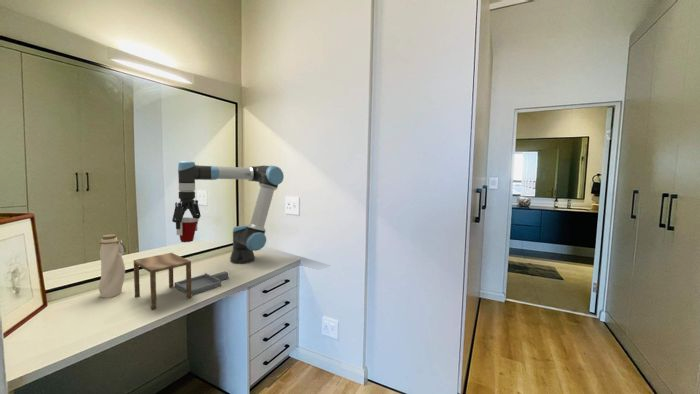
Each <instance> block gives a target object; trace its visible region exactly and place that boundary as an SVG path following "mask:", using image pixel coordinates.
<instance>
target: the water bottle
mask: <svg viewBox="0 0 700 394" xmlns="http://www.w3.org/2000/svg"><path fill="white" fill-rule="evenodd" d="M98 244H99V245H101V246H100V249H99V259H100V266H101V267H100V281H99V283H98V291H99V295H100V297H101V298H112V297H116V296H119V295H121V294H122V292H123V285H124V282H125V277H126V276H125V274H126V267H125V262H124V259H123V257H122V256H123V255H124V253H126V252H127V251H126V250H127V248H126V246H125V244H123V241H122V239H120V240H119V239H118V237H117V235H116V234H113V233H112V234H104V235H102V236H101V239H100V240H99V242H98Z"/></svg>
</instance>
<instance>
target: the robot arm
mask: <svg viewBox="0 0 700 394" xmlns="http://www.w3.org/2000/svg"><path fill="white" fill-rule="evenodd" d="M177 165H178V166H177V167H178V168H177V172H178V174H177V176H178V199H179V202H177V201H176V202H175V203H174V212H173V215H172V220H171V221H172V223H175V229H176V236H179V235H182V222H181V221H182V218H183V217H184V215H185V213H186V212H187V211H189V212H190V215H191V218H197V219H201V212H200V211H201V210H200V207H199V200H197V199H196V192H195V191H196V181H198V180H202V181H204V180H205V181H207V180H208V181H210V180H211V181H215V180H247V181H248V182H256V183H258V185H259V191H258V195H257V198H256V202H255V206H254V208H253V209H254V210H253V211H252V212H253V213H252V215H251V220H250V223H249V224H248V225H239V226H238V225H237V226H234V227H233V228H232V252H231V254H230V257H229V261H230V263H231V264H237V265H242V264H243V265H245V264H249V263H252V262H254V261H255V260H256V259H255V253H254V252H257V251H260V250H261V249H263V247H265V246H266V243H267V236H266V235H265V234H266V228H265V225H266V221H267V217H268V214H269V211H270V207H271V202H272V200H273V197H274V192H275V191H276V190H278V187H279V185H280V184H282V183H283V181H284V172H283V170H282V169H281V168H280V167H279V166H276V165H256V166H253V165H252V166H248V167H236V166H219V165H218V166H217V165H216V166H215V165H199V164H196V162H195V161H189V160H188V161H187V160H186V161H185V160H180V161H178V164H177ZM175 219H176V220H175ZM198 223H199V221H198V222H197V225H196V229H195V232H197V231H198Z"/></svg>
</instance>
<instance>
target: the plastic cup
mask: <svg viewBox="0 0 700 394" xmlns="http://www.w3.org/2000/svg"><path fill="white" fill-rule="evenodd" d="M199 219H200V218H199ZM199 219H197V218H193V217H187V216H186V217H184V216H183V218H182V221H181V222H182V235H178V236H179V240H180V243H190V242H193V241H194V239H195V233H196V231H195V229H196V225H197V226H198V224H197V222H198V223H199V221H200V220H199ZM175 220H176V219H175Z"/></svg>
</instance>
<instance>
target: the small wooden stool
mask: <svg viewBox="0 0 700 394" xmlns="http://www.w3.org/2000/svg"><path fill="white" fill-rule="evenodd" d="M184 266H185V273H186V274H185V278H186V279H185V280H186V292H187V294H186V299H191V298H192V295H191V278H192V261H191V260H188V259H187V258H184V257H182V256H180V255H177V254H175V253H174V252H168V253H163V254H159V255H153V256H149V257H143V258H138V259H133V279H134V281H133V282H134V284H133V285H134V297H135V298H139V297H141V293H140V292H141V291H140V287H141V285H140V267H141V268H142V269H144V270H145V271H147V272H149V279H150V280H149V281H150V282H149V283H150V288H149V289H150V310H151V311H154V310H157V307H158V306H157V277H156V275H157V274H156V273H158V272H163V271H166V270H168V287H169V288H170V289H171V288H175V283H174V269H175V268H179V267H184Z"/></svg>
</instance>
